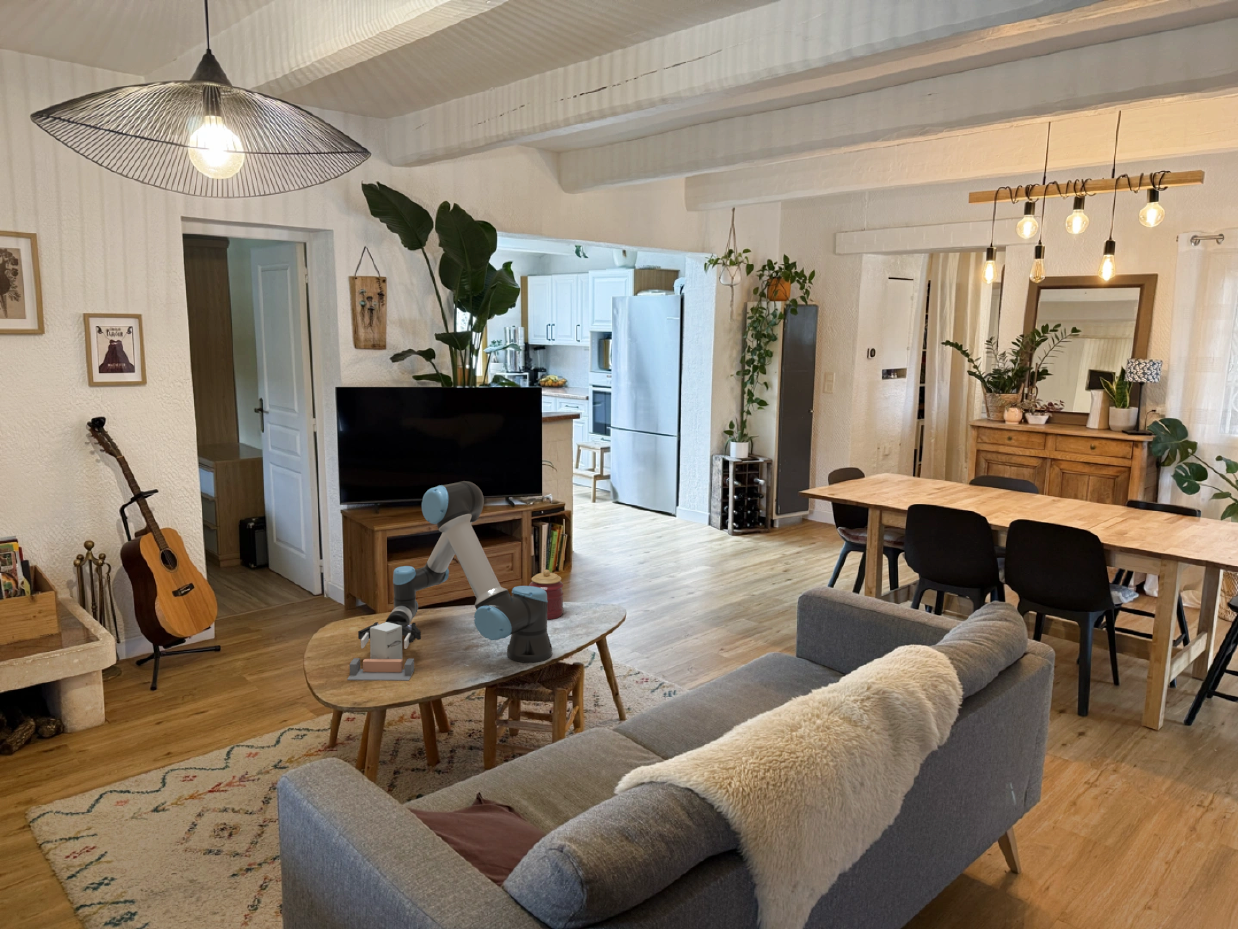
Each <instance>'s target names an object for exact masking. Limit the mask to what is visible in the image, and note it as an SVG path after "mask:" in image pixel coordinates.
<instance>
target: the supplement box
mask: <svg viewBox="0 0 1238 929" xmlns="http://www.w3.org/2000/svg"><path fill="white" fill-rule="evenodd" d="M378 624H379V625H377V626H374V627H371V628H370V639H369V643H370V644H369V646H370V647H369V648H370V650H369V652H370V658H369V659H403V636H402V626H401V625H397V624H393V623H389V622H386V621H385V622H383V623H378Z"/></svg>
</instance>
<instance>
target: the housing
mask: <svg viewBox="0 0 1238 929" xmlns="http://www.w3.org/2000/svg"><path fill="white" fill-rule="evenodd" d="M414 671H415V658H407V659H406V661H405V663H404V666H403V670H402V672H363V668H361V658H359V657H353V659H352V660H351V661H350V663H349V676H348V677H347V679H346V680H347V681H410V679H411V677H412V675H413V673H414Z"/></svg>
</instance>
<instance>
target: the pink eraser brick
mask: <svg viewBox="0 0 1238 929" xmlns="http://www.w3.org/2000/svg"><path fill="white" fill-rule="evenodd" d="M403 661H404V660H403V658H402V659H370V658H364V659H363V661H362V669H363V672H402V670H403V669H404V666H403V663H404V662H403Z"/></svg>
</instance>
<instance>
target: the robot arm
mask: <svg viewBox="0 0 1238 929" xmlns="http://www.w3.org/2000/svg"><path fill="white" fill-rule="evenodd" d="M484 504H485V499H484V495H483V492H482V490H481V489H480V487H479V486H478V485H476V484H475V483H473V482H472V481H465V480H463V481H458V482H454V483H449V484H447V483H446V484H441V485H440V484H439V485H437V486H435V487H431V488H429V489H427V491H426V492H425V493H424V494H423V496H422V501H421V512H422V515H423V517H424V519H425V520H426V521H427V522H428V523H429V524H432V525H436V527H437V529H438V531H439V532H441V535H440V537H439V538H438V541H437V542H436V544H435V546H434V547H433V550H432V551H431V554H430V556H429V557H428V560H427V562H426V563H425V565H424V566H423V567H420V568H416V569H415V568H414V566H410V565H404V566H398V567H396V568H394V570H393V573H392V574H393V575H392V576H393V577H392V578H393V579H392V584H393V609H392V611H391V612H390V613H389V615H388V617H387V618H386V620H385V622H389V623H393V624H397V625H401V626H402V637H405V638H404V640H403V647H404V648H403V649H408V647H409V646H410V644H412V643H414V641H416V640H419V641H420V640H422V635H421V634H422V632H421V631H420V628H418V627H417V625H416V622H412V621H413V619H414V618H415V616H417V613H418V609H419V604H418V602H417V600H416V597H417V594H416V593H417V592H418V591H423V590H424V589H428V588H430V587H433V586H434V587H435V586H438V585H440V584H442V583H444V582H446V581H447V580H448V579H449V574H450V570H449V567H450V564H451V562H452V561H453V559H454V556H456V558H457V560H458V562H459V565H460V566H461V569H462V571H463V573H464V575H465V577H466V579H467V582H468V583H469V586H470V587H471V589H472V592H473V593H474V594H473V595H474V596H475V598H476V600H475V603H474V607H475V609H476V610H475V612H474V615H473V618H474V619H473V621H474V622H473V623H474V626H475V628H476V630H477V631H478V633H479V634H480V635H481V636H482V637H483V638H485V639H487V640H489V641H498V640H502V639H506V638H508V637H509V636H510V638H509V643H508V645H507V648H506V655H507V657H508V658H509V659H510V660H511V661H515V662H518V663H527V664H528V663H538V662H542V661H545V660H548V659H550V657H552V655H553V646H552V643H551V640H550V636H549V633H548V619H547V602H548V601H547V593H546V591H545V590H544V589H542V588H539V587H533V586H529V585H518V586H514V587H513V588H512V590H511V594H510V591H509V589H508V588H505V587H502V586H501V584H500V581H499V580H498V578H497V576H496V574H495V571H494V569H493V567H492V565H491V563H490V561H489V559H488V557H487V555H486V553H485V551H484V549H483V547H482V544H481V543H480V541H479V540H480V539H479V538H478V536H477V534H476V532H475V530H474V528H473V526H472V524H473V523H476V522H477V521H478V520H479V517H480V516H481V514H482V512H483V509H484ZM379 624H380V623H379V622H378V621H375V622H373V623H372V624H371V625H368V626H367V627H364V628H362V629H360V630H358V631H357V636H358V640H360V648H361V649H364V648H365V647H366V646H367V644H368V643H369V642H370V628H371V627H374V626H377V625H379Z"/></svg>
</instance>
